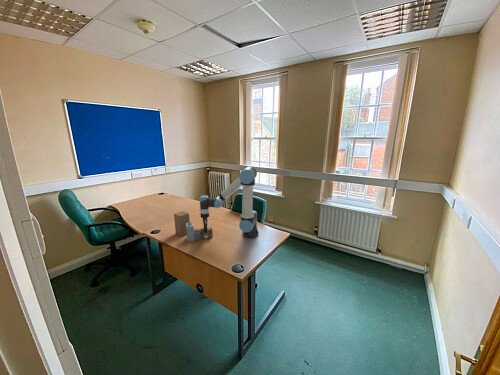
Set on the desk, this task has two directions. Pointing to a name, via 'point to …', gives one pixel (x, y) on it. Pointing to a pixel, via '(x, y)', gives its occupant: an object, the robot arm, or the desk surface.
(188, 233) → the gray block with ears
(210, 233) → the rail
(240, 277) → the desk surface
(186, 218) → the wooden block
